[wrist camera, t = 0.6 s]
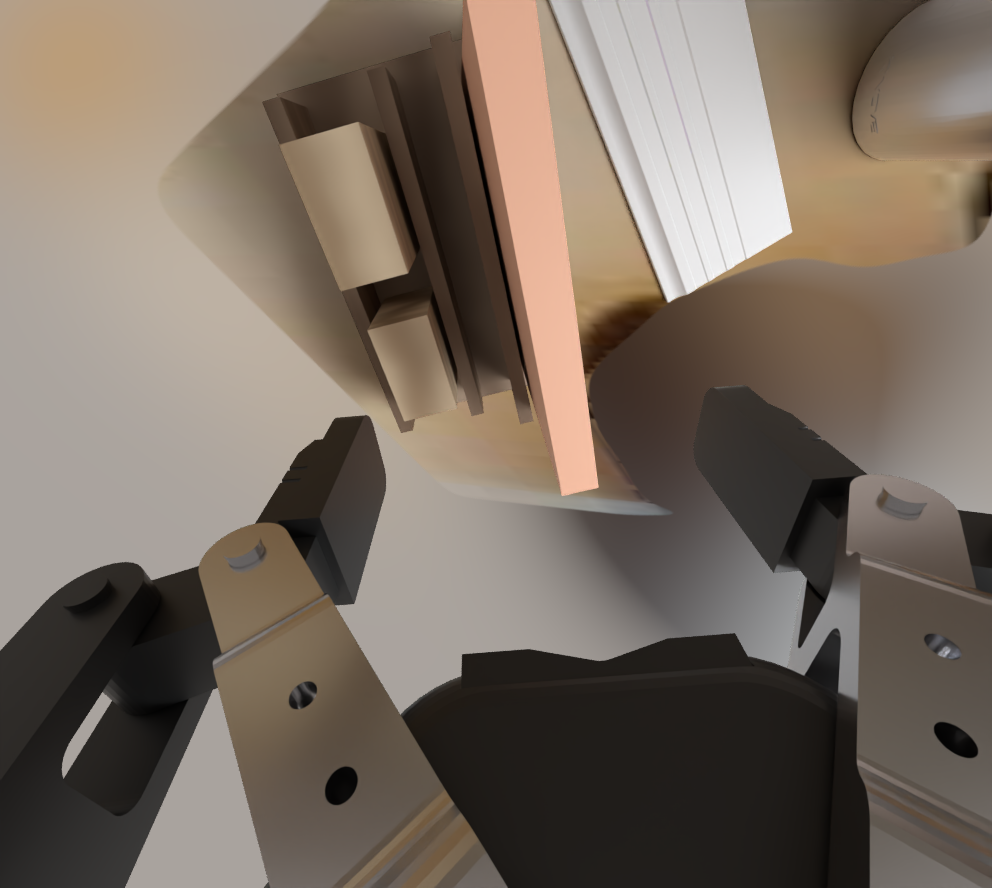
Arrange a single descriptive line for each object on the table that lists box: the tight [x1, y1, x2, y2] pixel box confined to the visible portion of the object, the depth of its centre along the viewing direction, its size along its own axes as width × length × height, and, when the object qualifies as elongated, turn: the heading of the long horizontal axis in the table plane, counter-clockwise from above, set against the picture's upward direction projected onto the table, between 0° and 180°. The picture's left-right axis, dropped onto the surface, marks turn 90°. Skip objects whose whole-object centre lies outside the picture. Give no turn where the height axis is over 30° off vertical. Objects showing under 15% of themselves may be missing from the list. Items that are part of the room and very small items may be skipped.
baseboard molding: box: [548, 0, 792, 302], centre depth 29 cm, size 31×3×12 cm
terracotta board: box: [461, 0, 598, 496], centre depth 25 cm, size 2×20×18 cm, turn 13°
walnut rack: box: [262, 31, 533, 433], centre depth 31 cm, size 16×24×10 cm, turn 13°
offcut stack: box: [279, 122, 458, 421], centre depth 29 cm, size 4×17×10 cm, turn 13°
